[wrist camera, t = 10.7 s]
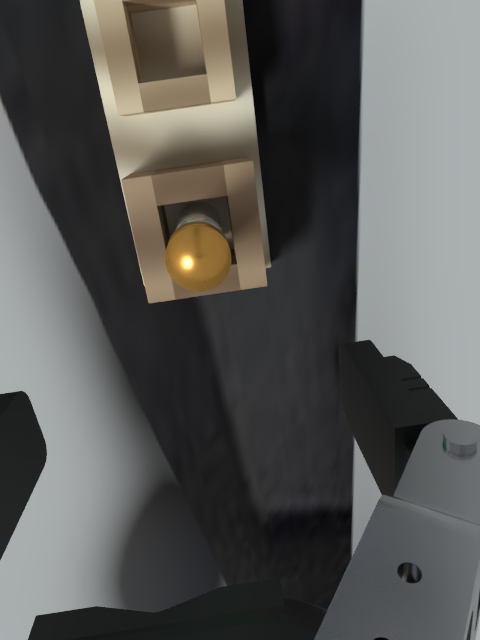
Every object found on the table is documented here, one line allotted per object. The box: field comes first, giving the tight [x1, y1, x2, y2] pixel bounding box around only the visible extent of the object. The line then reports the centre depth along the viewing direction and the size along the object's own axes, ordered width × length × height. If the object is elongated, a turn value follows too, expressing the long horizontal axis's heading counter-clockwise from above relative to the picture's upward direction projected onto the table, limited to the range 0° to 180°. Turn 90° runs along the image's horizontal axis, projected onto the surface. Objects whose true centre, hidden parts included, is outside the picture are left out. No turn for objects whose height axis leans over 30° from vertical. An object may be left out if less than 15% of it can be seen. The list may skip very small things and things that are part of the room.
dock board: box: [80, 0, 271, 303], centre depth 29 cm, size 18×10×5 cm, turn 7°
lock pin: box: [165, 202, 231, 291], centre depth 28 cm, size 3×3×10 cm
